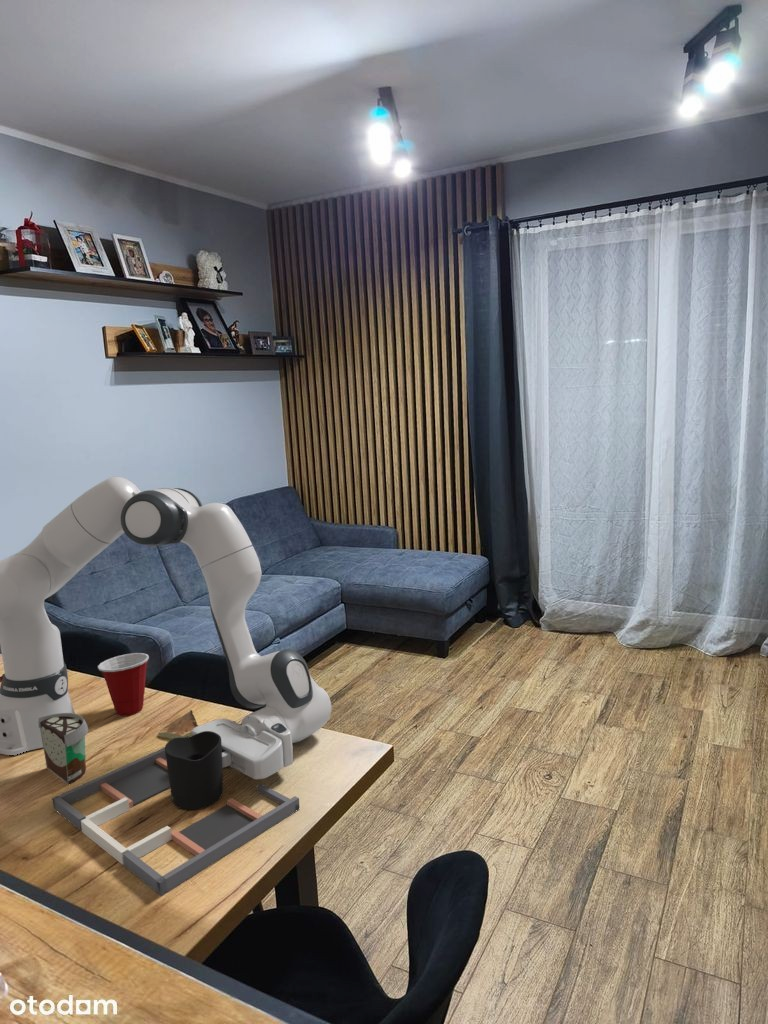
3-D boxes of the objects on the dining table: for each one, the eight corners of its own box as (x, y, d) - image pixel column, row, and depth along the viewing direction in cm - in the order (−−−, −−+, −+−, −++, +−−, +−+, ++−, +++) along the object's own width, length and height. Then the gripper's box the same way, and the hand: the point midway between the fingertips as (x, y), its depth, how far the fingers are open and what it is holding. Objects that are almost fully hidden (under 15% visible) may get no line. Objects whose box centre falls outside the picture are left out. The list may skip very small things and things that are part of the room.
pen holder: (189, 779, 127) (184, 728, 125) (235, 785, 124) (231, 733, 123) (158, 808, 118) (153, 754, 116) (207, 816, 115) (202, 760, 114)
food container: (104, 773, 130) (99, 723, 128) (72, 787, 126) (65, 736, 124) (75, 753, 138) (69, 705, 137) (43, 765, 134) (37, 717, 132)
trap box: (184, 748, 139) (183, 738, 138) (299, 809, 116) (298, 798, 116) (53, 808, 119) (52, 798, 119) (161, 895, 97) (159, 883, 97)
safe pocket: (126, 807, 119) (125, 797, 118) (171, 839, 110) (170, 828, 109) (80, 830, 113) (79, 819, 112) (124, 866, 104) (123, 854, 103)
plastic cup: (130, 696, 164) (125, 648, 162) (164, 704, 159) (159, 654, 157) (92, 715, 155) (86, 664, 153) (126, 724, 150) (120, 672, 148)
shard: (191, 716, 154) (191, 708, 154) (219, 721, 151) (219, 713, 150) (157, 738, 144) (156, 730, 144) (186, 744, 141) (185, 736, 141)
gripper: (226, 704, 138) (165, 731, 127) (296, 734, 124) (233, 767, 114) (229, 734, 139) (168, 763, 128) (298, 767, 125) (236, 802, 115)
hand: (199, 765), depth 121 cm, fingers closed
